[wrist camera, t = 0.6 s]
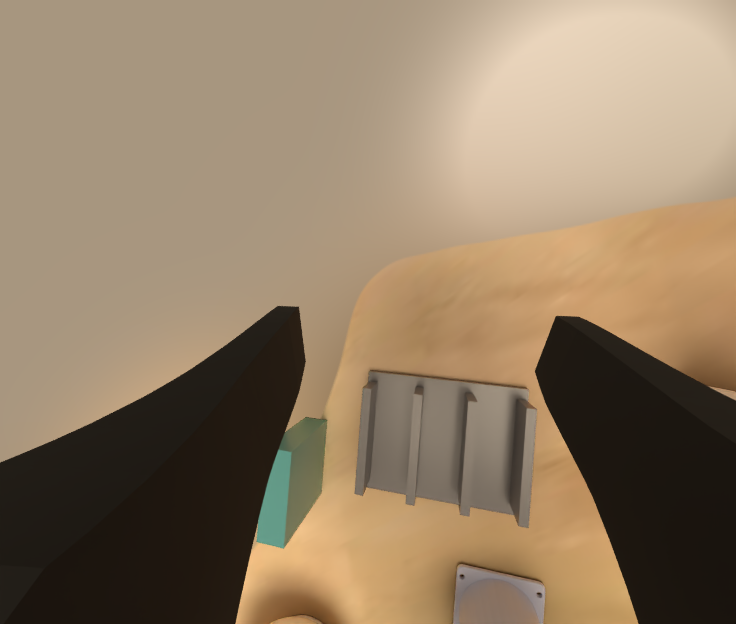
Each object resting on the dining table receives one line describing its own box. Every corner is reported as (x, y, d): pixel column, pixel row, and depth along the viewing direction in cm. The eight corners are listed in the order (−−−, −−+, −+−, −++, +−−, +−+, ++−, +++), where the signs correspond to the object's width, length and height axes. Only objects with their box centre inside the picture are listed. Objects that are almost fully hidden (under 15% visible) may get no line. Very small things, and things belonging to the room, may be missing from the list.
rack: (518, 511, 32) (530, 540, 28) (362, 482, 35) (351, 504, 31) (526, 388, 32) (540, 398, 28) (370, 370, 35) (361, 377, 31)
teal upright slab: (321, 493, 36) (283, 548, 27) (300, 488, 36) (256, 541, 28) (327, 420, 36) (291, 452, 27) (306, 417, 37) (264, 447, 28)
